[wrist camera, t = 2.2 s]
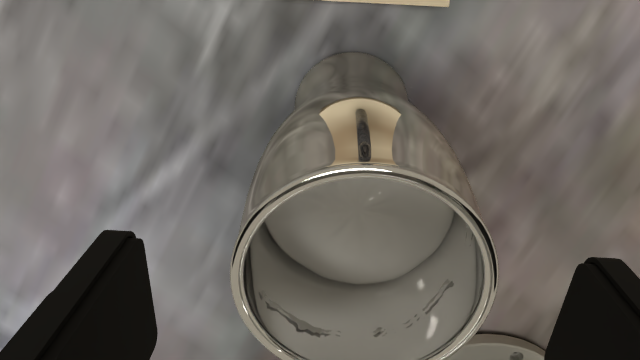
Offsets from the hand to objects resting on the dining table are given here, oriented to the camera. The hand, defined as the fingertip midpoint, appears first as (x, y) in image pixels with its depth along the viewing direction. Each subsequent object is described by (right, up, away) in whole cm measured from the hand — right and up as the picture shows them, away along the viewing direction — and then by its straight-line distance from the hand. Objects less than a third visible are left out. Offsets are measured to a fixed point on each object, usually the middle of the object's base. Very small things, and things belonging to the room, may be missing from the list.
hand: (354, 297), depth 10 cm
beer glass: (+1, +7, +15) cm, 16 cm away
